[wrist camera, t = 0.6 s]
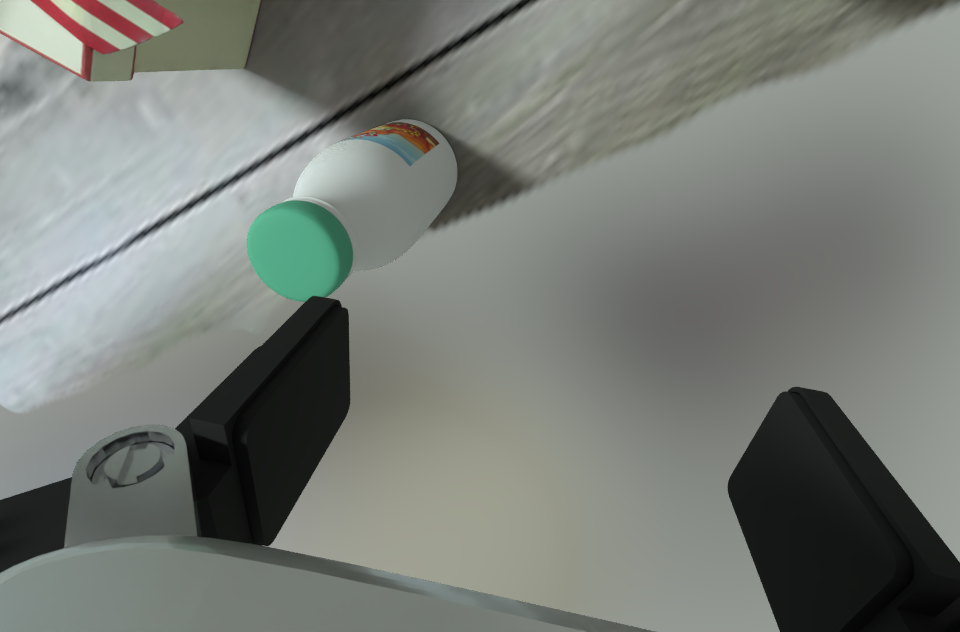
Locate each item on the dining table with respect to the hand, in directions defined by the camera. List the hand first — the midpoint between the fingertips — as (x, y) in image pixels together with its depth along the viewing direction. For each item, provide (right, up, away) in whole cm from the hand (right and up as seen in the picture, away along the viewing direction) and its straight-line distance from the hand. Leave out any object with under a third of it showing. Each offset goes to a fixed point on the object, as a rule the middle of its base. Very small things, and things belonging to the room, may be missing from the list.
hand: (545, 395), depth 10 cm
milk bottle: (-7, +14, +28) cm, 32 cm away
